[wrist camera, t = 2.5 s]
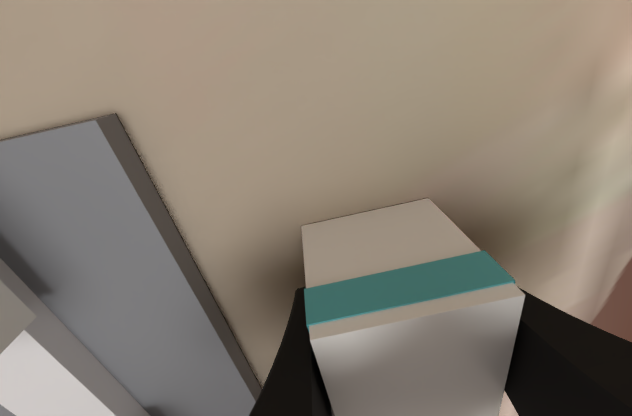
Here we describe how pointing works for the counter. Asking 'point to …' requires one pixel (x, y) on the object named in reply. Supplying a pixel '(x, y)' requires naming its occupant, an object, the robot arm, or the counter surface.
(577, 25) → the counter surface
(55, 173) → the mounting plate
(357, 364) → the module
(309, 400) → the robot arm
